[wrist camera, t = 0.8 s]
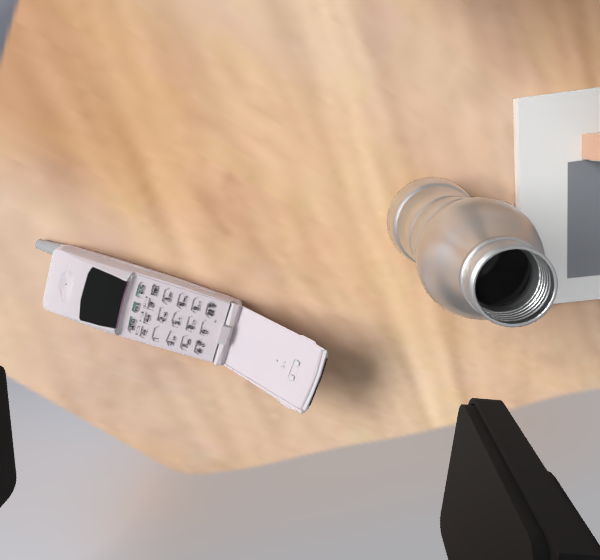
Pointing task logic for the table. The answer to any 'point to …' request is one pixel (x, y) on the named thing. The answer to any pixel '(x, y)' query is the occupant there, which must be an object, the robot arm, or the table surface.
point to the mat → (561, 185)
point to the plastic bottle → (473, 253)
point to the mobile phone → (182, 320)
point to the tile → (591, 146)
